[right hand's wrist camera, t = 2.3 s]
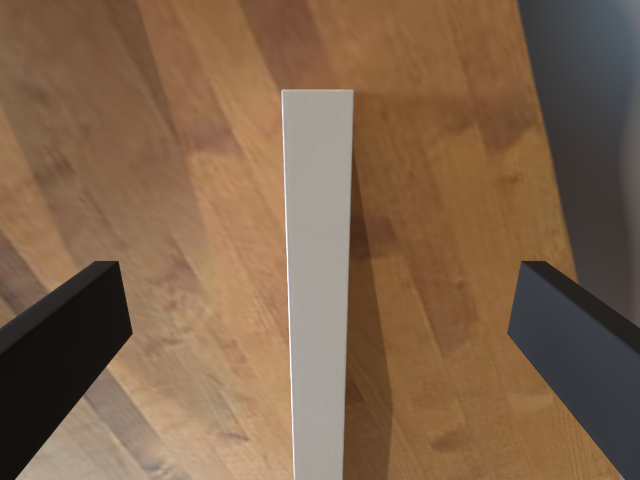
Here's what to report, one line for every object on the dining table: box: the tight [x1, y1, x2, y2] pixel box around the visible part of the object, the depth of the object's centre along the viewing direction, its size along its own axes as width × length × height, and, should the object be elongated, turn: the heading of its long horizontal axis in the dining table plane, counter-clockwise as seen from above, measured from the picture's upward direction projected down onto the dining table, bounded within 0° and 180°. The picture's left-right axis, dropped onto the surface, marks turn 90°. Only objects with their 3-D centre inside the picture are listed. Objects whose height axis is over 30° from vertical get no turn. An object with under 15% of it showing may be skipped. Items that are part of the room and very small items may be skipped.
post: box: [282, 90, 354, 480], centre depth 39 cm, size 60×5×9 cm, turn 0°
